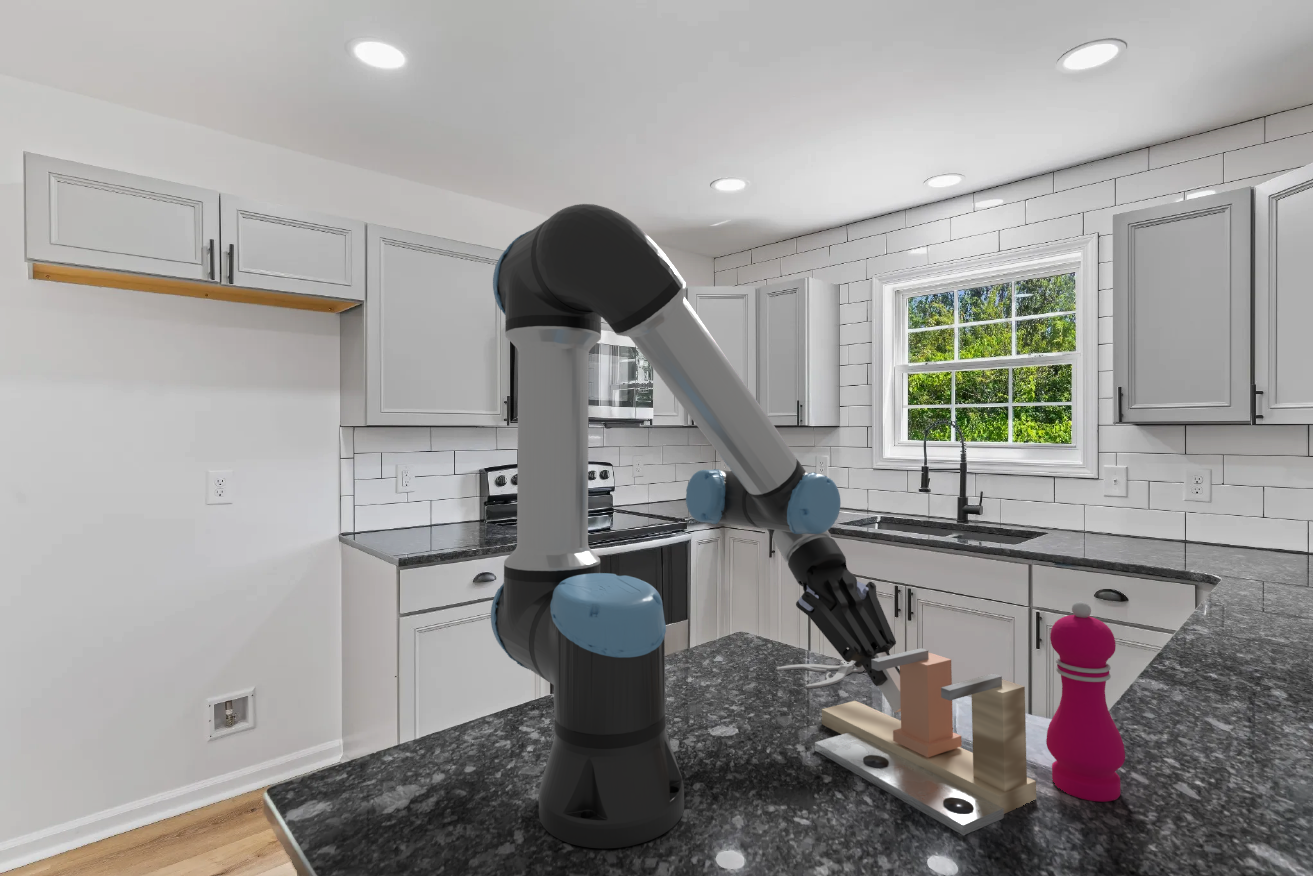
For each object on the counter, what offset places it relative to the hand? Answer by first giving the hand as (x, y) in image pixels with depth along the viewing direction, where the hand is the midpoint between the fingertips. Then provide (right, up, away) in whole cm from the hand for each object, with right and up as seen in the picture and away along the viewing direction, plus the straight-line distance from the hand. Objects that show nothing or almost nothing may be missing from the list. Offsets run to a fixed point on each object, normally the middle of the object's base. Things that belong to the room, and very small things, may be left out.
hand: (904, 706), depth 83 cm
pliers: (-1, -6, +29) cm, 30 cm away
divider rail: (-1, -6, -3) cm, 6 cm away
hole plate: (-3, -6, -7) cm, 9 cm away
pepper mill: (+16, -5, -9) cm, 19 cm away
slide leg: (-1, -3, -4) cm, 5 cm away
